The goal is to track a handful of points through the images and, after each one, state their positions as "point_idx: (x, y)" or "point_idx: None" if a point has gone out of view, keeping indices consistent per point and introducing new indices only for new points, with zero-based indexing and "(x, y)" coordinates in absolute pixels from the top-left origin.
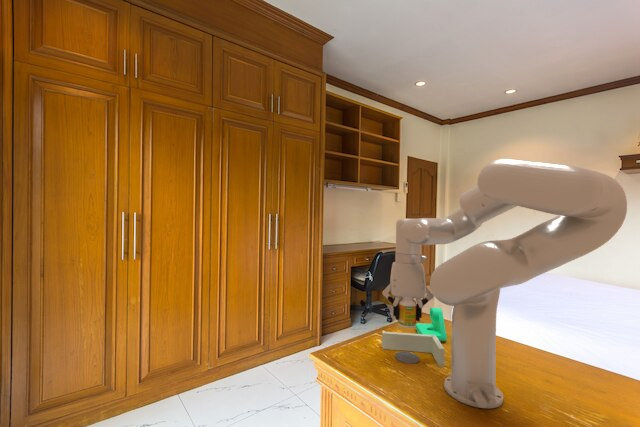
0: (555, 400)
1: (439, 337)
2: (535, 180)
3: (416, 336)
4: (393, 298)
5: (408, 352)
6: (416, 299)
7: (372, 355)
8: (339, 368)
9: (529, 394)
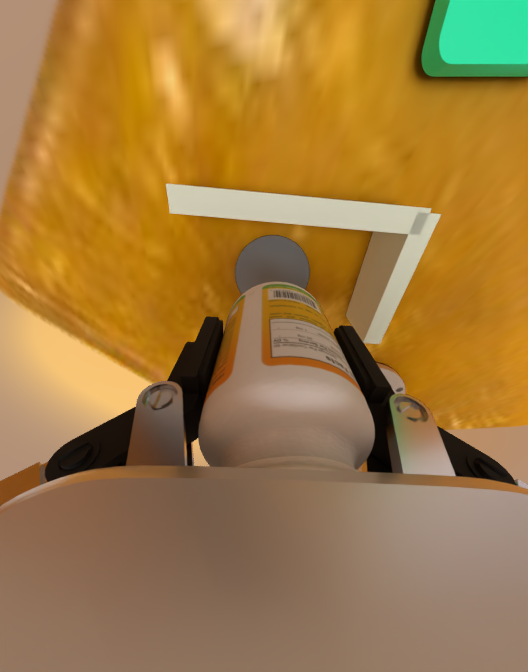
0: (479, 400)
1: (519, 69)
2: None
3: (336, 227)
4: (134, 438)
5: (286, 240)
6: (394, 460)
7: (163, 268)
8: (98, 344)
9: (453, 390)
